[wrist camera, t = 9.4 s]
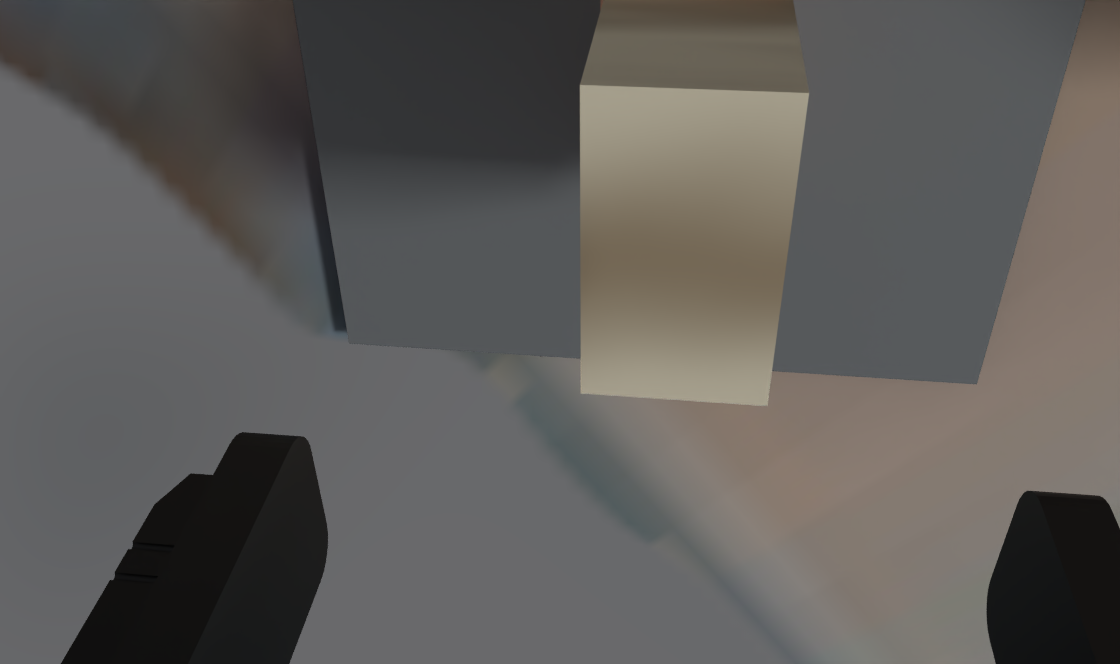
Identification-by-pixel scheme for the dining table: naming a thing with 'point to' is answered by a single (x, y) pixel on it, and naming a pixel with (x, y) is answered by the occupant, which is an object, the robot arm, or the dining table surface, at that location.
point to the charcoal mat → (554, 173)
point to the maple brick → (687, 195)
